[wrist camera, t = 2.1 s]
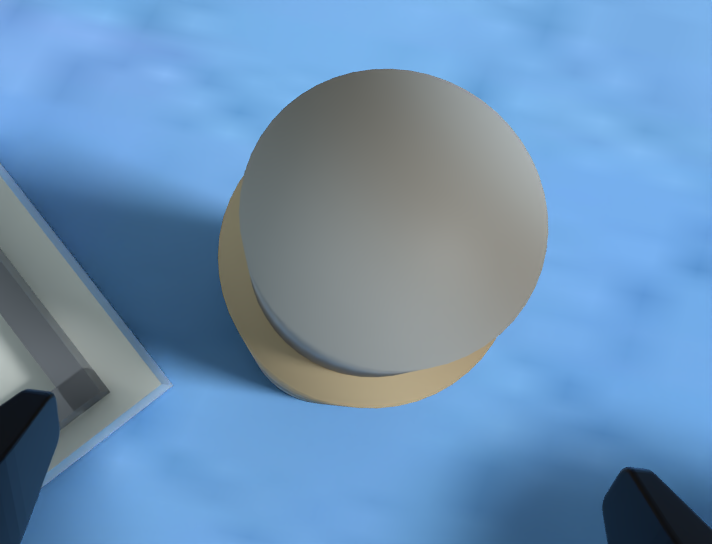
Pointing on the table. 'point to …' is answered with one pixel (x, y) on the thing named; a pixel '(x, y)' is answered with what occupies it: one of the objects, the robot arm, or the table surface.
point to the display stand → (64, 335)
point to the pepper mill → (381, 239)
